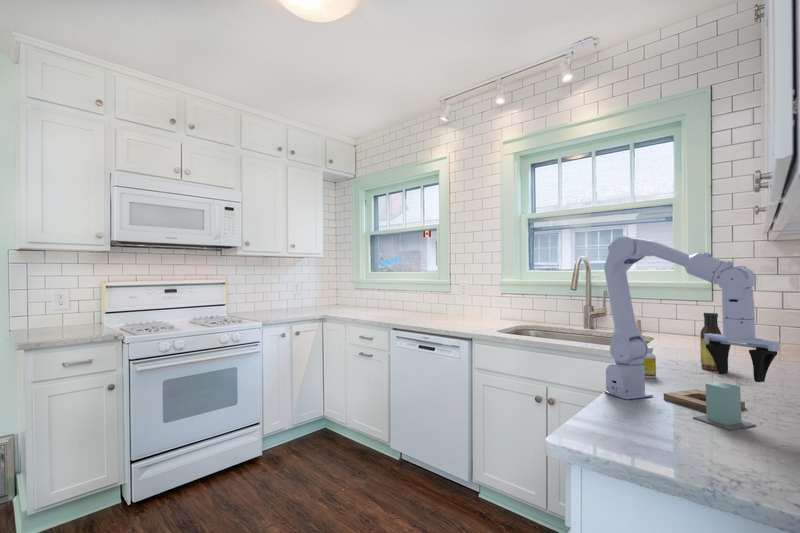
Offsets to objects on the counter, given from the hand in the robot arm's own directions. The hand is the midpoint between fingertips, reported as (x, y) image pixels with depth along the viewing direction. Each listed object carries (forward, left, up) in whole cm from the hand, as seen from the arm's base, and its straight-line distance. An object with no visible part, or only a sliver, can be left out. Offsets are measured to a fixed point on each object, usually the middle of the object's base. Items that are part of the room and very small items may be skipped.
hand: (740, 377), depth 92 cm
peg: (-6, 0, -9) cm, 11 cm away
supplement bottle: (+15, +38, -10) cm, 41 cm away
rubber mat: (-6, 0, -9) cm, 11 cm away
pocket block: (+3, +11, -9) cm, 15 cm away
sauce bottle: (+45, +38, -10) cm, 59 cm away
